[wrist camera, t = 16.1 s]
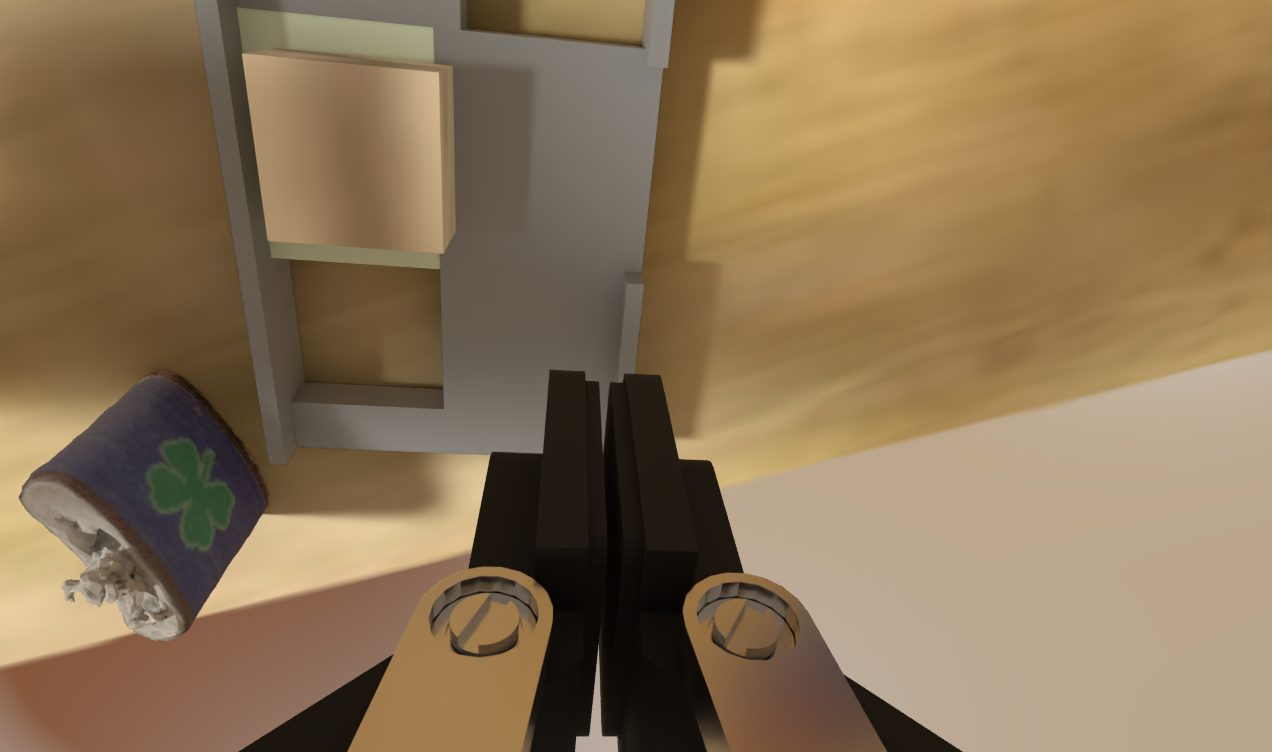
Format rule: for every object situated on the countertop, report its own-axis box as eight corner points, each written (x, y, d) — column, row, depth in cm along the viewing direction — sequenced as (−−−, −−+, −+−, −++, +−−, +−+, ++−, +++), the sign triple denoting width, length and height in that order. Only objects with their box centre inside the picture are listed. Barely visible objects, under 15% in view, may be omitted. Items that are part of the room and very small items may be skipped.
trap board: (295, 424, 37) (269, 464, 33) (200, -262, 24) (145, -300, 21) (619, 439, 38) (623, 477, 35) (684, -195, 26) (698, -221, 23)
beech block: (296, 219, 30) (267, 240, 27) (275, 47, 27) (241, 53, 24) (455, 231, 31) (443, 253, 28) (452, 65, 28) (438, 72, 25)
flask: (130, 377, 35) (-36, 520, 25) (185, 359, 35) (38, 496, 25) (237, 520, 39) (129, 687, 30) (286, 504, 39) (193, 668, 29)
